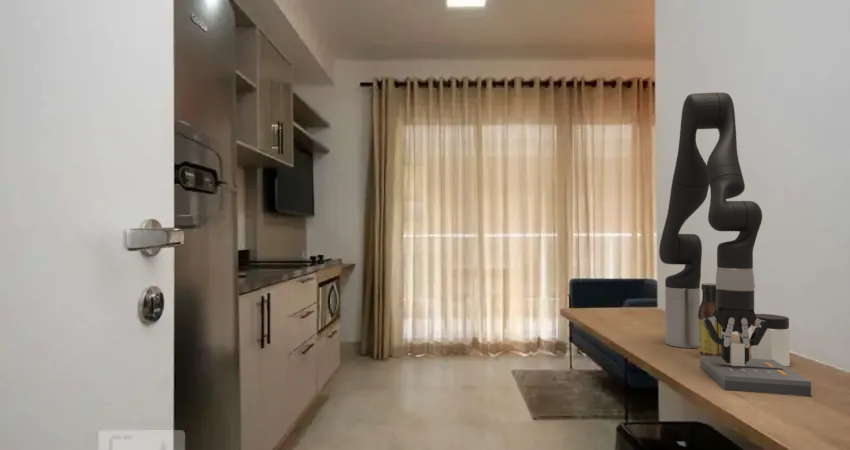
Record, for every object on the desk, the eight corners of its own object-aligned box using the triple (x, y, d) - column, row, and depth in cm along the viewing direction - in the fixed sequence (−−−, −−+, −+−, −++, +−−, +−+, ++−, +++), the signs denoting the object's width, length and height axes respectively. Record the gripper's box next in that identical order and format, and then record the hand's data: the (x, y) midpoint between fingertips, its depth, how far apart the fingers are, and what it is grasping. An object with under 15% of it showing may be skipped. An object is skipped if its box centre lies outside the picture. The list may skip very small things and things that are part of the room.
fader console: (700, 367, 124) (700, 354, 124) (773, 372, 120) (773, 359, 120) (724, 389, 107) (724, 375, 107) (811, 396, 103) (811, 381, 103)
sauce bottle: (719, 354, 137) (718, 282, 137) (730, 360, 131) (730, 285, 131) (694, 354, 138) (693, 282, 138) (704, 359, 131) (704, 284, 132)
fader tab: (725, 366, 116) (725, 339, 116) (738, 367, 116) (738, 340, 116) (731, 371, 112) (731, 343, 113) (744, 372, 112) (744, 344, 112)
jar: (797, 364, 127) (797, 317, 127) (781, 368, 123) (780, 320, 123) (759, 356, 135) (759, 312, 135) (743, 360, 131) (742, 315, 131)
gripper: (762, 286, 116) (762, 360, 116) (696, 284, 120) (696, 356, 120) (776, 290, 109) (776, 369, 109) (705, 288, 112) (706, 364, 112)
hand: (734, 362), depth 114 cm, fingers closed on fader tab, 2 cm apart
